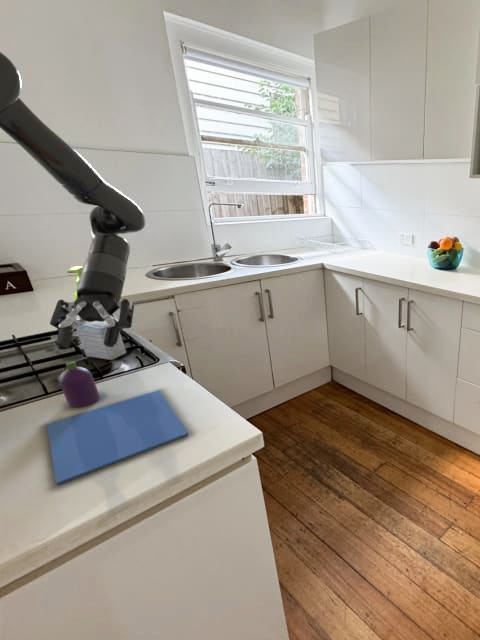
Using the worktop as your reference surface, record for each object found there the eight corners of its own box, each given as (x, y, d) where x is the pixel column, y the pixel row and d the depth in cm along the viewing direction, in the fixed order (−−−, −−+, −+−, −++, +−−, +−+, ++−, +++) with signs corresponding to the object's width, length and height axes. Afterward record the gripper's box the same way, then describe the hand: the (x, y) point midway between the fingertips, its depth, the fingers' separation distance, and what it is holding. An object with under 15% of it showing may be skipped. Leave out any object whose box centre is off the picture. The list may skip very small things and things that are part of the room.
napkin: (47, 425, 70) (46, 423, 70) (159, 391, 82) (158, 390, 82) (57, 485, 57) (56, 483, 57) (188, 434, 69) (188, 432, 69)
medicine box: (127, 353, 98) (117, 322, 94) (111, 361, 94) (100, 328, 90) (102, 349, 100) (92, 318, 96) (85, 357, 96) (74, 324, 92)
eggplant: (62, 408, 75) (46, 369, 72) (79, 394, 80) (65, 357, 76) (90, 406, 76) (75, 368, 72) (105, 393, 80) (92, 356, 77)
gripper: (54, 269, 80) (32, 340, 74) (128, 269, 82) (112, 339, 76) (79, 287, 87) (61, 353, 81) (146, 286, 89) (133, 351, 83)
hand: (86, 346), depth 79 cm, fingers open, 8 cm apart
